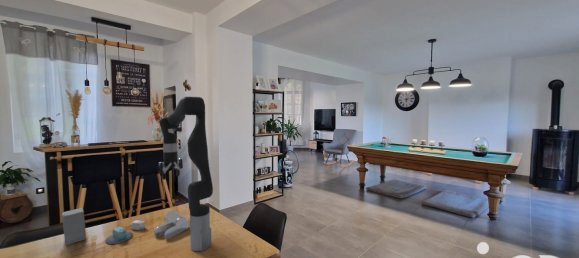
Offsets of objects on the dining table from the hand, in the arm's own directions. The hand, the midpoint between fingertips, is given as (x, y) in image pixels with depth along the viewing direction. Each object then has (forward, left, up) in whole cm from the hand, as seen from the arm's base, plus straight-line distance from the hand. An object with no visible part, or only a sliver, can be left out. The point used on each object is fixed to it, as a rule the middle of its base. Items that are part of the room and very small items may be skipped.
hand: (171, 177), depth 143 cm
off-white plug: (+11, +14, -28) cm, 33 cm away
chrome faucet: (-6, +6, -29) cm, 30 cm away
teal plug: (+8, +25, -28) cm, 38 cm away
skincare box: (+25, +38, -28) cm, 54 cm away
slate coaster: (+8, +25, -28) cm, 38 cm away
